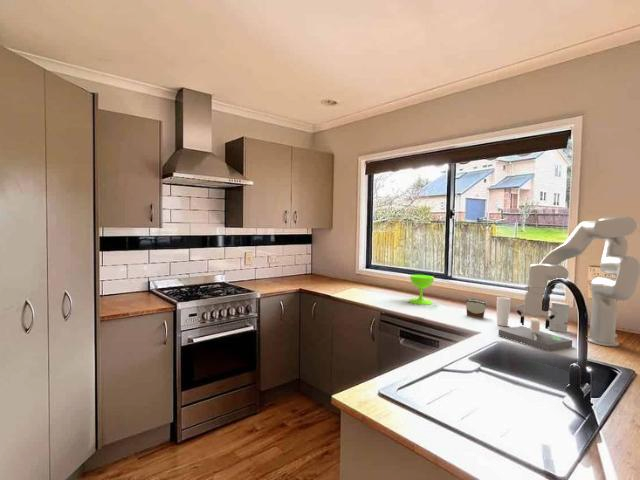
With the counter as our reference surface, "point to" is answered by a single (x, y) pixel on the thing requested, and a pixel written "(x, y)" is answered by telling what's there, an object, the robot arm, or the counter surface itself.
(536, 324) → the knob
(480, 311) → the food container
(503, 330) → the dial plate
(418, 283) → the wineglass
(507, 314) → the drinking glass
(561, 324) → the skincare box
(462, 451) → the counter surface
